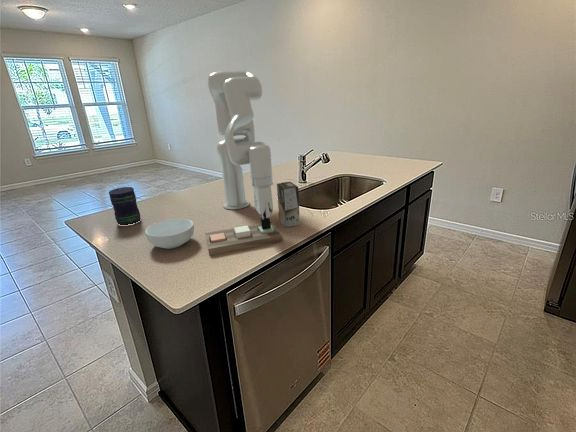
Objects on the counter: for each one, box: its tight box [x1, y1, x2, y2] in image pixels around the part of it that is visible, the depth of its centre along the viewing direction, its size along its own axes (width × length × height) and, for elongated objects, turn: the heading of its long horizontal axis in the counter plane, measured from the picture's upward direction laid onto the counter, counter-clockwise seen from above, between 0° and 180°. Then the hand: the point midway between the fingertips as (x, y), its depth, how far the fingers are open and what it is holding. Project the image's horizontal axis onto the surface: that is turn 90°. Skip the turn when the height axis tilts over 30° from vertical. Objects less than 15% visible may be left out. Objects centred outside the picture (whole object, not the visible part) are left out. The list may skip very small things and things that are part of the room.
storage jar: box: [108, 186, 142, 225], centre depth 136 cm, size 10×10×15 cm
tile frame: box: [204, 221, 283, 256], centre depth 115 cm, size 14×26×2 cm, turn 108°
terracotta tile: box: [210, 233, 226, 243], centre depth 112 cm, size 5×5×3 cm
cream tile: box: [233, 225, 251, 239], centre depth 114 cm, size 5×5×3 cm
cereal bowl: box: [144, 218, 195, 250], centre depth 115 cm, size 17×17×7 cm
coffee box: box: [276, 181, 301, 228], centre depth 126 cm, size 9×6×16 cm
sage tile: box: [258, 226, 274, 234], centre depth 117 cm, size 5×5×3 cm
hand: (266, 228), depth 117 cm, fingers closed
